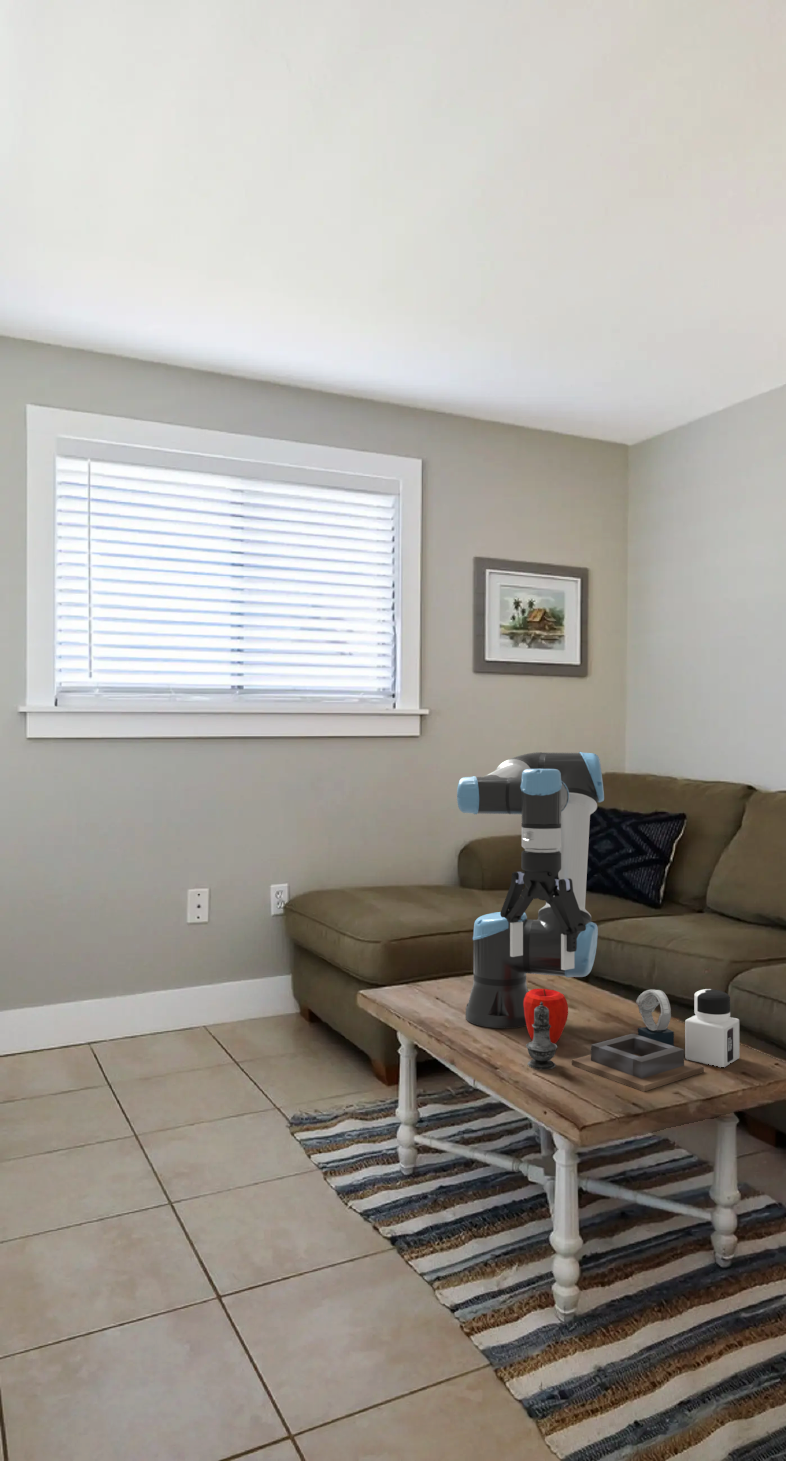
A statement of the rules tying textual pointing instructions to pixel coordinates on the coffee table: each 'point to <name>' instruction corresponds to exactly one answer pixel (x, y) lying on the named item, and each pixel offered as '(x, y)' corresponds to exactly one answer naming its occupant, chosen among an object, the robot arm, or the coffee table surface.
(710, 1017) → the container
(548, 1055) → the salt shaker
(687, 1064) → the holder
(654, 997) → the watch
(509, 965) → the robot arm
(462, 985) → the coffee table surface
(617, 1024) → the coffee table surface
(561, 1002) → the apple
